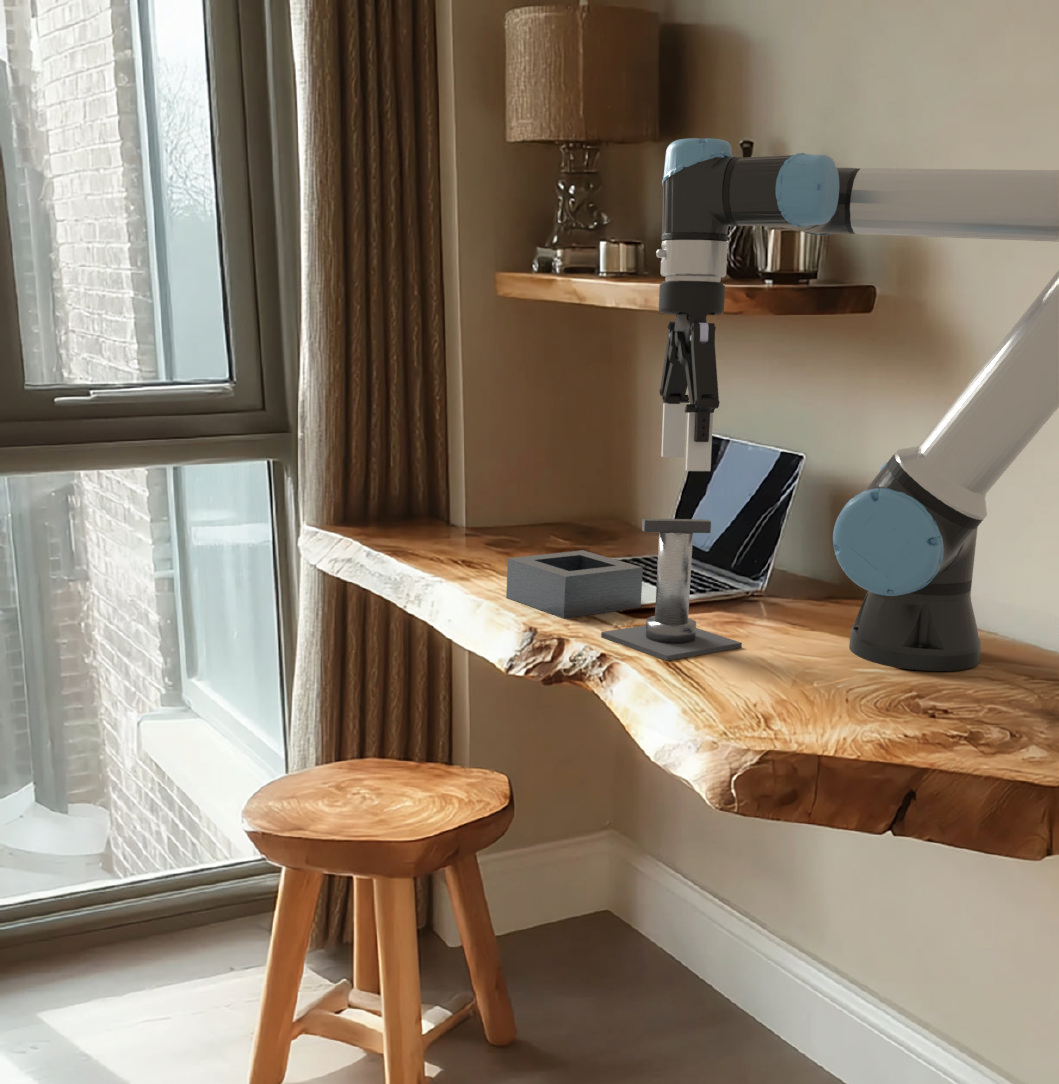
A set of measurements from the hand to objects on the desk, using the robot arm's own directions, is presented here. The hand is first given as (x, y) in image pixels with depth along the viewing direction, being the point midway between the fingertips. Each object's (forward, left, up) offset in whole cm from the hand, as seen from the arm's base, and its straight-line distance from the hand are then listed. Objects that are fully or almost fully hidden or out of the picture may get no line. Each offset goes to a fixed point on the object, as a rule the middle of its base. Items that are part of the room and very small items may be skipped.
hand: (684, 463), depth 153 cm
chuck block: (+22, -2, -22) cm, 31 cm away
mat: (0, 0, -22) cm, 22 cm away
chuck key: (0, 0, -21) cm, 21 cm away
